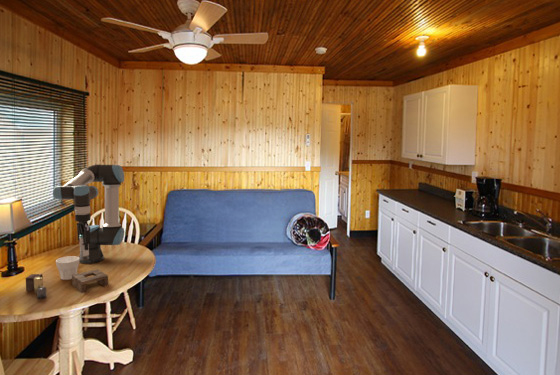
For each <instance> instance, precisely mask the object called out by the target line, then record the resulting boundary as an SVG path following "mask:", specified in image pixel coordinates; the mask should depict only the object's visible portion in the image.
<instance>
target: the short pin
mask: <svg viewBox="0 0 560 375" xmlns="http://www.w3.org/2000/svg"><path fill="white" fill-rule="evenodd" d="M36 298H37V300H44V299H46V298H47V287H46V286H43V287H40V288H37V294H36Z"/></svg>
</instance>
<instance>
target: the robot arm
mask: <svg viewBox="0 0 560 375" xmlns="http://www.w3.org/2000/svg"><path fill="white" fill-rule="evenodd" d="M124 181H125V172H124V170H123V167H122V166H121V165H119V164H99V163H98V164H93V165H89V166H87V167H85V168H83V169H82V170H80V171H79V173H78V175H76V176H75V177H74V178H72V179H71V180H69V181H68V182H67V183H65V184H64V185H57V186H54V188H53V191H52V195H53V198H54V199H56V200H61V201H62V200H63V201H64V200H74V209H73V210H74V213H75V215H74V221H75V222H77V223H76V230H77V232H76V233H77V241H78V243H80V237H79V235H80V234H82V235H83V243H84V244H82V245H83V256H88V255H89V259H88V260H81V257H80V255H78V257H79V258H80V260H79V264H80V263H81V264H95V263H99V262H102V261H104V260H105V257H104V253H103V251H102V248H101V246H119V245H121V244H122V243H123V240H124V238H125V237H124V236H125V228H124V227H122V224H121V223H120V219H119V218H120V214H119V213H120V210H119V209H120V208H119V207H120V205H119V204H120V200H119V199H120V197H119V196H120V194H119V193H120V192H119V188H120V187H121V186H122V183H123V182H124ZM91 183H101V185H102V186H103V187H104V224H102V226H100V225H99V224H94V225H89V223H88V222H89V221H90V220H91V200H93V199H95V198H96V197H98V195H99V189H98V188H97V186H95V185H88V184H91Z"/></svg>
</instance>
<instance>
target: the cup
mask: <svg viewBox="0 0 560 375" xmlns="http://www.w3.org/2000/svg"><path fill="white" fill-rule="evenodd" d="M79 260H80V258H79V256H75V255H72V256H71V255H69V256H68V255H67V256H62V257H59V258H57V259H56V260H55V264H56V269H57V270H58V273H59V277H60V279H61V280H63V281H68V280H72V275H75V274H78V267H79V265H80V262H79Z"/></svg>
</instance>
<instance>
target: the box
mask: <svg viewBox="0 0 560 375" xmlns="http://www.w3.org/2000/svg"><path fill="white" fill-rule="evenodd" d="M36 277H43V273H31V274H30V275H28V276H26V277H25V288H26V289H25V290H26V292H29V291H30V292H33V291H34V278H36ZM34 292H35V291H34Z"/></svg>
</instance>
